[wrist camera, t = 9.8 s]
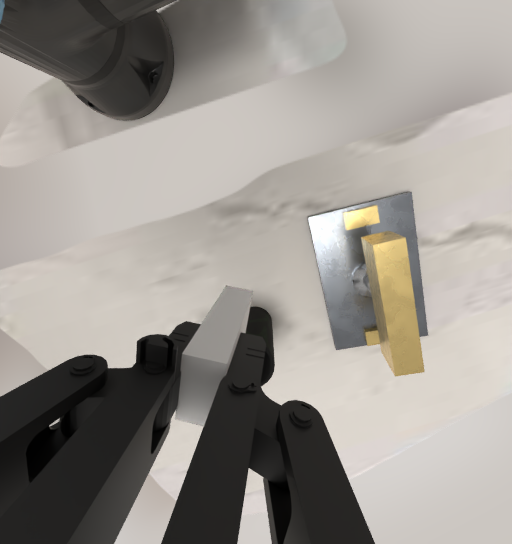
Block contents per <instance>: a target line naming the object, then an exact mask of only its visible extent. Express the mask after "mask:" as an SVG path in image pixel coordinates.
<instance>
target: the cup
mask: <svg viewBox="0 0 512 544" xmlns="http://www.w3.org/2000/svg"><path fill="white" fill-rule="evenodd" d="M246 334H251V335H255V336H260V337H263V339H264V341H265V343H266V349H265V356H264V363H263V369H262V376H261V386H263V385H264V384H265V383H267V382H268V381H269V379H270V378H271V377H272V375H273V372H274V366H275V364H274V347H273V330H272V319H271V316H270V315H269V313H268V312H267V311H266V310H264V309H262V308H260V307H250V311H249V316H248V322H247V327H246Z"/></svg>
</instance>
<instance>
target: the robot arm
mask: <svg viewBox="0 0 512 544" xmlns="http://www.w3.org/2000/svg"><path fill="white" fill-rule="evenodd" d="M174 1H176V0H0V52H1V53H3V54H5V55H8V56H10V57H12V58H14V59H16V60H19V61H21V62H23V63H25V64H28V65H30V66H32V67H34V68H36V69H38V70H41V71H43V72H45V73H47V74H49V75H52V76H54V77H56V78H58V79H60V80H62V81H63V82H64V83H65V85H66V86H67V87H68V88H69V89H70V90H71V91H72V92H73V93H74V94H75V95H76V96H77V97H78V98H79V99H80V100H81V101H82V102H83V103H85V104H86V105H87V106H89V107H90V108H91V109H93V110H95V111H97V112H99V113H101V114H103V115H106V116H108V117H111V118H114V119H118V120H135V119H139V118H142V117H144V116H146V115H148V114H149V113H151V112H152V111H153V110H154V109H155V108H157V106H158V105H159V104H160V103H161V102H162V100H163V99H164V97H165V95H166V93H167V91H168V89H169V87H170V83H171V80H172V75H173V67H174V56H173V47H172V43H171V39H170V35H169V33H168V30H167V28H166V25H165V23H164V22H163V20H162V18H161V17H160V15H159V14H158V12H157V11H156V10H157V9H159V8H161V7H164V6H166V5H168V4H170V3H172V2H174ZM252 295H253V291H250V290H245V289H240V288H236V287H231V286H226V287H225V289H224V290H223V292H222V293H221V295H220V296H219V298H218V299H217V301H216V302H215V304H214V305H213V307H212V309H211V310H210V312H209V313H208V315H207V316H206V318H205V319H204V321H203V322H202V324H196V323H192V322H187V321H186V322H184V323H182V324H180V325H178V326H177V327H176V328H175V329H174V330H173V331H172V333H171V334H170V335H169V336H167V335H160V334H155V335H148V336H145V337H142V338H141V339H139V340H138V341H137V354H136V363H135V364H134V366H133V367H132V368H108V364H107V361H106V360H105V359H104V358H103V357H101V356H97V355H82V356H77V357H74V358H72V359H69V360H67V361H65V362H63V363H62V364H60V365H58V366H56V367H54V368H52V369H51V370H49V371H47V372H45V373H43V374H42V375H40V376H38V377H36V378H34V379H32V380H30V381H29V382H27V383H25V384H23V385H21V386H19V387H18V388H16V389H14V390H12V391H10V392H8V393H7V394H5V395H3V396H1V397H0V544H114V542H115V540H116V538H117V536H118V534H119V532H120V530H121V528H122V526H123V524H124V522H125V520H126V518H127V516H128V514H129V512H130V510H131V508H132V506H133V504H134V502H135V500H136V498H137V496H138V494H139V492H140V490H141V487H142V486H143V483H144V481H145V479H146V477H147V475H148V473H149V471H150V469H151V467H152V465H153V463H154V461H155V459H156V457H157V455H158V453H159V451H160V449H161V447H162V445H163V443H164V441H165V439H166V437H167V435H168V433H169V429H170V422H171V418H172V416H173V414H174V412H175V410H176V415H175V420H179V421H184V422H188V423H192V424H196V425H200V426H204V427H203V430H202V433H201V436H200V438H199V441H198V444H197V447H196V449H195V452H194V455H193V458H192V460H191V463H190V466H189V469H188V471H187V474H186V477H185V480H184V482H183V485H182V488H181V491H180V493H179V496H178V499H177V502H176V504H175V507H174V510H173V513H172V516H171V518H170V521H169V524H168V526H167V529H166V532H165V535H164V537H163V540H162V543H161V544H237V541H238V534H239V528H240V521H241V515H242V508H243V501H244V495H245V488H246V481H247V475H248V468H250V469H252V470H253V471H255V472H256V473H258V474H259V475H261V476H263V477H264V478H263V482H264V489H265V496H266V504H267V511H268V518H269V526H270V533H271V540H272V544H375V543H374V540H373V538H372V535H371V533H370V531H369V529H368V526H367V524H366V521H365V519H364V516H363V514H362V511H361V509H360V507H359V504H358V502H357V499H356V497H355V495H354V492H353V490H352V487H351V485H350V483H349V480H348V478H347V475H346V473H345V471H344V468H343V466H342V463H341V461H340V459H339V456H338V454H337V451H336V449H335V447H334V444H333V442H332V439H331V437H330V435H329V432H328V430H327V427H326V425H325V423H324V420H323V418H322V416H321V415H320V413H319V412H318V411H317V410H316V409H315V408H314V407H313V406H311V405H309V404H307V403H305V402H303V401H297V400H293V401H288V402H286V403H284V404H283V405H282V406H281V405H279V404H277V403H276V402H274V401H272V400H271V399H269V398H268V397H267V396H266V395H265V394H264V392H263V391H262V388H261V376H262V369H263V363H264V356H265V349H266V343H265V341H264V339H263V337H260V336H255V335H251V334H246V327H247V322H248V316H249V311H250V306H251V300H252ZM59 418H60V421H59V422H58V423H56V424H54V425H52V426H50V427H49V425H50V424H52V423H53V422H54V421H56V420H57V419H59Z"/></svg>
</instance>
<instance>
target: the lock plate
mask: <svg viewBox="0 0 512 544" xmlns="http://www.w3.org/2000/svg"><path fill="white" fill-rule="evenodd" d="M308 221H309V226H310V231H311V235H312V240H313V245H314V250H315V254H316V259H317V264H318V268H319V273H320V278H321V283H322V287H323V292H324V297H325V301H326V306H327V311H328V316H329V320H330V325H331V330H332V334H333V339H334V344H335V348H336V350H340V349H346V348H352V347H359V346H365V345H367V346H370V345H376V344H380V340H379V335H378V329H377V324H376V318H375V313H374V307H373V301H372V296H371V290H370V285H369V279H368V274H367V268H366V263H365V257H364V252H363V246H362V241H361V237H364V236H368V235H372V234H376V233H381V232H385V231H391V232H394V233H396V234H398V235H401V236H403V237H406V243H407V250H408V257H409V264H410V272H411V279H412V286H413V293H414V300H415V308H416V315H417V322H418V329H419V336H420V337H421V336H427V335H428V331H427V322H426V314H425V305H424V296H423V288H422V279H421V270H420V261H419V253H418V244H417V235H416V226H415V218H414V209H413V200H412V192H405V193H401V194H397V195H393V196H389V197H385V198H381V199H377V200H373V201H369V202H365V203H361V204H357V205H353V206H349V207H345V208H341V209H337V210H334V211H330V212H326V213H322V214H318V215H314V216H310V217H308Z"/></svg>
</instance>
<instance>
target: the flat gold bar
mask: <svg viewBox="0 0 512 544" xmlns="http://www.w3.org/2000/svg"><path fill="white" fill-rule="evenodd" d="M361 241H362V246H363V252H364V257H365V263H366V268H367V274H368V279H369V285H370V290H371V296H372V301H373V307H374V313H375V318H376V324H377V329H378V335H379V340H380V346H381V351H382V354H383V356H384V357H385V359H386V361H387V363H388V364H389V366H390V368H391V370H392V372H393V373H394V375H395V376H401V375H408V374H414V373H421V372H424V365H423V358H422V351H421V343H420V336H419V329H418V322H417V315H416V308H415V300H414V293H413V286H412V279H411V272H410V264H409V257H408V250H407V243H406V237H403V236H401V235H398V234H396V233H394V232H391V231H385V232H381V233H376V234H372V235H368V236H364V237H361Z"/></svg>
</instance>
